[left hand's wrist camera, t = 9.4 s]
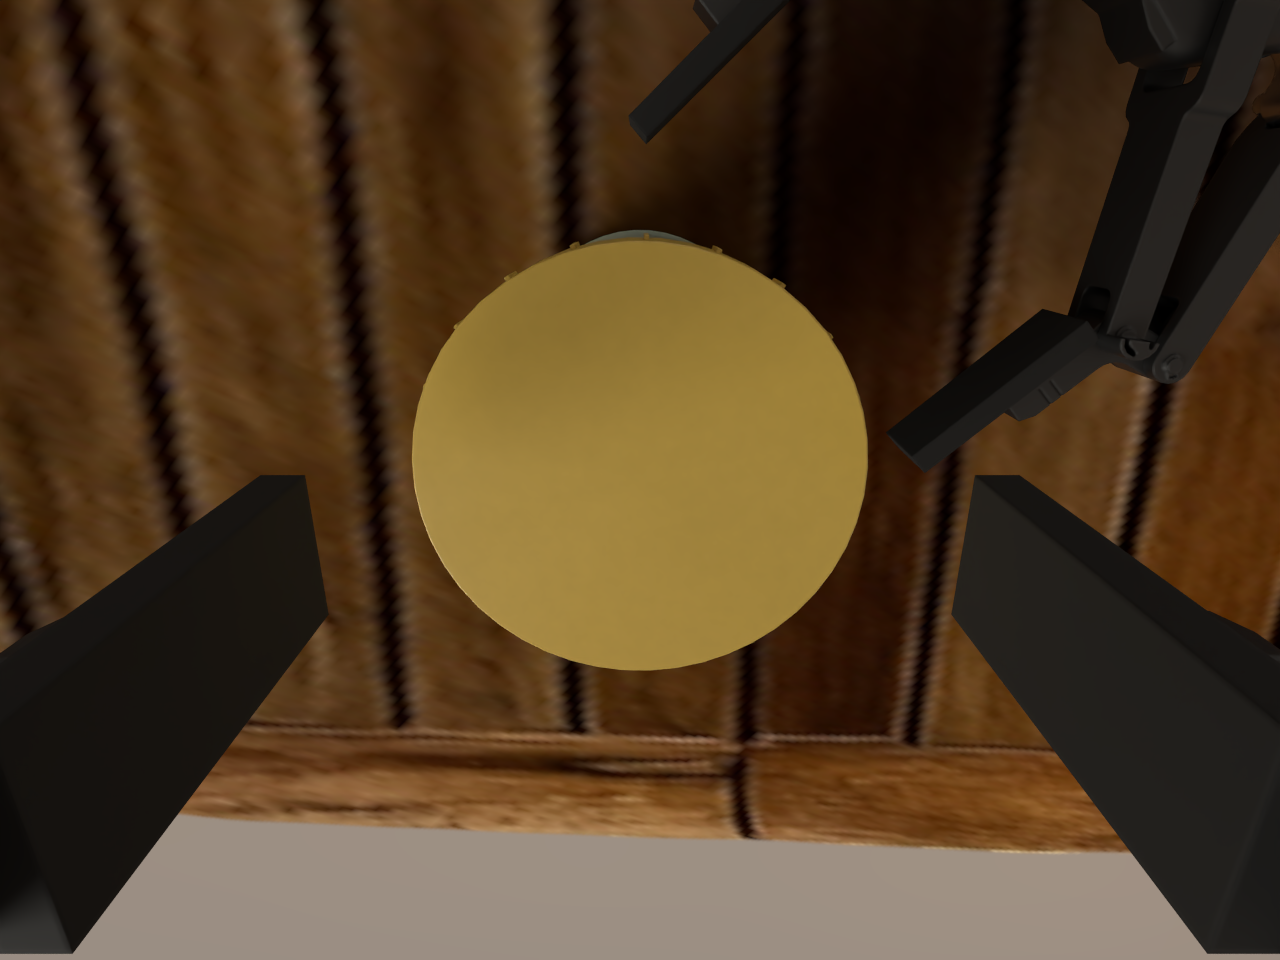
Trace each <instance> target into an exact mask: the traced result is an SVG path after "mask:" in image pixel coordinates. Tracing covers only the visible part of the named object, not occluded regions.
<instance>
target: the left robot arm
mask: <svg viewBox="0 0 1280 960" xmlns="http://www.w3.org/2000/svg"><path fill="white" fill-rule="evenodd" d="M327 616H328V609H327V603H326V597H325V591H324V585H323V579H322V573H321V567H320V561H319V556H318V550H317V544H316V538H315V532H314V526H313V520H312V514H311V508H310V503H309V497H308V491H307V485H306V479H305V475H260V476H259V477H258V478H256V479H255V480H253V481H252V482H251V483H249V484H248V485H246V486H245V487H244V488H242V489H241V490H240V491H238V492H237V493H235V494H234V495H233V496H231V497H230V498H228V499H227V500H226V501H224V502H223V503H222V504H220V505H219V506H217V507H216V508H215V509H213V510H212V511H210V512H209V513H208V514H206V515H205V516H204V517H202V518H201V519H199V520H198V521H197V522H195V523H194V524H192V525H191V526H190V527H188V528H187V529H186V530H184V531H183V532H181V533H180V534H179V535H177V536H176V537H174V538H173V539H172V540H170V541H169V542H168V543H166V544H165V545H163V546H162V547H161V548H159V549H158V550H156V551H155V552H154V553H152V554H151V555H150V556H148V557H147V558H145V559H144V560H143V561H141V562H140V563H138V564H137V565H136V566H134V567H133V568H131V569H130V570H129V571H127V572H126V573H125V574H123V575H122V576H120V577H119V578H118V579H116V580H115V581H113V582H112V583H111V584H109V585H108V586H107V587H105V588H104V589H102V590H101V591H100V592H98V593H97V594H95V595H94V596H93V597H91V598H90V599H89V600H87V601H86V602H84V603H83V604H82V605H80V606H79V607H77V608H76V609H75V610H73V611H72V612H71V613H69V614H68V615H66V616H65V617H63V618H61V619H59V620H57V621H55V622H53V623H50V624H48V625H46V626H44V627H42V628H40V629H38V630H35V631H33V632H31V633H29V634H27V635H25V636H24V637H22V638H21V639H20V640H18V641H17V642H15V643H14V644H13V645H11V646H10V647H8V648H7V649H5V650H4V651H3V652H1V653H0V954H72V953H73V952H74V951H75V950H76V948H77V947H78V946H79V944H80V943H81V942H82V940H83V939H84V938H85V937H86V935H87V934H88V933H89V931H90V930H91V929H92V927H93V926H94V925H95V923H96V922H97V921H98V919H99V918H100V917H101V915H102V914H103V913H104V911H105V910H106V909H107V907H108V906H109V905H110V903H111V902H112V901H113V899H114V898H115V897H116V895H117V894H118V893H119V891H120V890H121V889H122V887H123V886H124V885H125V883H126V882H127V881H128V879H129V878H130V877H131V875H132V874H133V873H134V872H135V870H136V869H137V868H138V866H139V865H140V864H141V862H142V861H143V860H144V858H145V857H146V856H147V854H148V853H149V852H150V850H151V849H152V848H153V846H154V845H155V844H156V842H157V841H158V840H159V838H160V837H161V836H162V834H163V833H164V832H165V830H166V829H167V828H168V826H169V825H170V824H171V823H172V821H173V820H174V818H175V817H176V816H177V815H178V813H179V812H180V811H181V809H182V808H183V807H184V805H185V804H186V803H187V801H188V800H189V799H190V797H191V796H192V795H193V793H194V792H195V791H196V789H197V788H198V787H199V785H200V784H201V783H202V781H203V780H204V779H205V777H206V776H207V775H208V773H209V772H210V771H211V769H212V768H213V767H214V766H215V764H216V763H217V762H218V760H219V759H220V758H221V756H222V755H223V754H224V752H225V751H226V750H227V748H228V747H229V746H230V744H231V743H232V742H233V740H234V739H235V738H236V736H237V735H238V734H239V732H240V731H241V730H242V728H243V727H244V726H245V724H246V723H247V722H248V720H249V719H250V718H251V716H252V715H253V714H254V712H255V711H256V710H257V709H258V707H259V706H260V705H261V703H262V702H263V701H264V699H265V698H266V697H267V695H268V694H269V693H270V691H271V690H272V689H273V687H274V686H275V685H276V683H277V682H278V681H279V679H280V678H281V677H282V675H283V674H284V673H285V671H286V670H287V669H288V667H289V666H290V665H291V663H292V662H293V661H294V659H295V658H296V657H297V655H298V654H299V653H300V652H301V650H302V649H303V648H304V646H305V645H306V644H307V642H308V641H309V640H310V638H311V637H312V636H313V634H314V633H315V632H316V630H317V629H318V628H319V626H320V625H321V624H322V622H323V621H324V620H325V618H326V617H327ZM952 616H953V617H954V618H955V620H956V621H957V622H958V624H959V625H960V626H961V628H962V629H963V630H964V632H965V633H966V634H967V636H968V637H969V638H970V640H971V641H972V642H973V644H974V645H975V646H976V648H977V649H978V650H979V652H980V653H981V654H982V655H983V657H984V658H985V659H986V661H987V662H988V663H989V665H990V666H991V667H992V669H993V670H994V671H995V673H996V674H997V675H998V677H999V678H1000V679H1001V681H1002V682H1003V683H1004V685H1005V686H1006V687H1007V689H1008V690H1009V691H1010V693H1011V694H1012V695H1013V697H1014V698H1015V699H1016V701H1017V702H1018V703H1019V705H1020V706H1021V707H1022V709H1023V710H1024V711H1025V712H1026V714H1027V715H1028V716H1029V718H1030V719H1031V720H1032V722H1033V723H1034V724H1035V726H1036V727H1037V728H1038V730H1039V731H1040V732H1041V734H1042V735H1043V736H1044V738H1045V739H1046V740H1047V742H1048V743H1049V744H1050V746H1051V747H1052V748H1053V750H1054V751H1055V752H1056V754H1057V755H1058V756H1059V758H1060V759H1061V760H1062V762H1063V763H1064V764H1065V766H1066V767H1067V768H1068V769H1069V771H1070V772H1071V773H1072V775H1073V776H1074V777H1075V779H1076V780H1077V781H1078V783H1079V784H1080V785H1081V787H1082V788H1083V789H1084V791H1085V792H1086V793H1087V795H1088V796H1089V797H1090V799H1091V800H1092V801H1093V803H1094V804H1095V805H1096V807H1097V808H1098V809H1099V811H1100V812H1101V813H1102V815H1103V816H1104V817H1105V819H1106V820H1107V821H1108V823H1109V824H1110V825H1111V826H1112V828H1113V829H1114V830H1115V832H1116V833H1117V834H1118V836H1119V837H1120V838H1121V840H1122V841H1123V842H1124V844H1125V845H1126V846H1127V848H1128V849H1129V850H1130V852H1131V853H1132V854H1133V856H1134V857H1135V858H1136V860H1137V861H1138V862H1139V864H1140V865H1141V866H1142V868H1143V869H1144V870H1145V872H1146V873H1147V874H1148V875H1149V877H1150V878H1151V880H1152V881H1153V882H1154V883H1155V885H1156V886H1157V887H1158V889H1159V890H1160V891H1161V893H1162V894H1163V895H1164V897H1165V898H1166V899H1167V901H1168V902H1169V903H1170V905H1171V906H1172V907H1173V909H1174V910H1175V911H1176V913H1177V914H1178V915H1179V917H1180V918H1181V919H1182V921H1183V922H1184V923H1185V925H1186V926H1187V927H1188V929H1189V930H1190V931H1191V933H1192V934H1193V935H1194V937H1195V938H1196V939H1197V940H1198V942H1199V943H1200V944H1201V946H1202V947H1203V948H1204V950H1205V951H1206V952H1207V954H1280V649H1278V648H1277V647H1275V646H1274V645H1273V644H1271V643H1270V642H1268V641H1267V640H1265V639H1264V638H1263V637H1261V636H1260V635H1258V634H1257V633H1255V632H1254V631H1251V630H1249V629H1247V628H1245V627H1243V626H1241V625H1238V624H1236V623H1234V622H1232V621H1230V620H1228V619H1226V618H1223V617H1221V616H1219V615H1217V614H1215V613H1213V612H1210V611H1207V610H1205V609H1204V608H1203V607H1201V606H1200V605H1198V604H1197V603H1196V602H1194V601H1193V600H1191V599H1190V598H1189V597H1187V596H1186V595H1185V594H1183V593H1182V592H1180V591H1179V590H1178V589H1176V588H1175V587H1173V586H1172V585H1171V584H1169V583H1168V582H1167V581H1165V580H1164V579H1162V578H1161V577H1160V576H1158V575H1157V574H1155V573H1154V572H1153V571H1151V570H1150V569H1149V568H1147V567H1146V566H1144V565H1143V564H1142V563H1140V562H1139V561H1137V560H1136V559H1135V558H1133V557H1132V556H1130V555H1129V554H1128V553H1126V552H1125V551H1124V550H1122V549H1121V548H1119V547H1118V546H1117V545H1115V544H1114V543H1112V542H1111V541H1110V540H1108V539H1107V538H1106V537H1104V536H1103V535H1101V534H1100V533H1099V532H1097V531H1096V530H1094V529H1093V528H1092V527H1090V526H1089V525H1088V524H1086V523H1085V522H1083V521H1082V520H1081V519H1079V518H1078V517H1076V516H1075V515H1074V514H1072V513H1071V512H1070V511H1068V510H1067V509H1065V508H1064V507H1063V506H1061V505H1060V504H1058V503H1057V502H1056V501H1054V500H1053V499H1052V498H1050V497H1049V496H1047V495H1046V494H1045V493H1043V492H1042V491H1040V490H1039V489H1038V488H1036V487H1035V486H1034V485H1032V484H1031V483H1029V482H1028V481H1027V480H1025V479H1024V478H1022V477H1021V476H1020V475H975V479H974V485H973V491H972V497H971V503H970V508H969V514H968V520H967V526H966V532H965V538H964V544H963V550H962V556H961V561H960V567H959V573H958V579H957V585H956V591H955V597H954V603H953V609H952Z"/></svg>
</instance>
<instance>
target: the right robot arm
mask: <svg viewBox="0 0 1280 960" xmlns="http://www.w3.org/2000/svg"><path fill="white" fill-rule="evenodd" d="M789 1H790V0H695V3H694V7H693V10H694V11H695V12H696V14H697V15H698V16H699V18H700V19H701V20H702V22H703V23H704V24H705V25H706V27H707V28H708V29H709V31H710V33H709V34H708V35H707V36H706V37H705V38H704V39H703V40H702V41H701V42H700V43H699V45H698V46H697V47H696V48H695V49H694V50H693V51H692V52H691V53H690V54H689V55H688V56H687V57H686V58H685V59H684V60H683V61H682V62H681V63H680V64H679V65H678V66H677V67H676V68H675V69H674V70H673V71H672V72H671V73H670V74H669V75H668V76H667V77H666V78H665V79H664V80H663V81H662V82H661V83H660V84H659V85H658V86H657V87H656V88H655V89H654V90H653V91H652V92H651V93H650V94H649V95H648V96H647V97H646V99H645V100H644V101H643V102H642V103H641V104H640V105H639V106H638V107H637V108H636V109H635V110H634V111H633V112H632V113H631V114H630V115H629V121H630V125H631V127H632V128H633V129H634V130H635V131H636V133H637V134H638V135H639V136H640V137H641V139H642V140H643V141H644V142H645V143H646V144H647V143H648V142H649V141H650V140H651V139H652V138H653V137H654V136H655V135H656V134H657V133H658V132H659V131H660V130H661V129H662V128H663V127H664V126H665V125H666V124H667V123H668V122H669V121H670V120H671V119H672V118H673V117H674V116H675V115H676V114H677V113H678V112H679V111H680V110H681V109H682V108H683V107H684V106H685V105H686V104H687V103H688V102H689V101H690V100H691V99H692V98H693V97H694V96H695V95H696V94H697V93H698V92H699V91H700V90H701V89H702V88H703V87H704V86H705V85H706V84H707V83H708V82H709V81H710V80H711V79H712V78H713V77H714V76H715V75H716V74H717V73H718V72H719V71H720V70H721V69H722V68H723V67H724V66H725V65H726V64H727V63H728V62H729V61H730V60H731V59H732V58H733V57H734V56H735V55H736V54H737V53H738V52H739V51H740V50H741V49H742V48H743V47H744V46H745V45H746V44H747V43H748V42H749V41H750V40H751V39H752V38H753V37H754V36H755V35H756V34H757V33H758V32H759V31H760V30H761V29H762V28H763V27H764V26H765V25H766V24H767V23H768V22H769V21H770V20H771V19H772V18H773V17H774V16H775V15H776V14H777V13H778V12H779V11H780V10H781V9H782V8H783V7H784V6H785V5H786V4H787V3H788V2H789ZM1083 1H1084V2H1085V3H1086V4H1087V5H1088V6H1090V7H1091V8H1092V9H1093V10H1094V11H1095V12H1096V13H1098V15H1099V17H1100V21H1101V24H1102V28H1103V32H1104V36H1105V40H1106V43H1107V45H1108V46H1109V48H1110V50H1111V51H1112V53H1113V55H1114V56H1115V58H1116V60H1117V61H1118V63H1119V64H1121V63H1124V62H1128V61H1129V62H1130V63H1132V64H1133V65H1135V66H1137V67H1139V70H1138V73H1137V76H1136V79H1135V82H1134V85H1133V88H1132V92H1131V95H1130V98H1129V101H1128V104H1127V108H1126V118H1127V120H1128V121H1129V129H1128V133H1127V136H1126V139H1125V142H1124V145H1123V148H1122V151H1121V154H1120V157H1119V160H1118V163H1117V166H1116V169H1115V172H1114V175H1113V178H1112V181H1111V184H1110V187H1109V191H1108V194H1107V197H1106V200H1105V203H1104V206H1103V209H1102V212H1101V215H1100V218H1099V221H1098V224H1097V227H1096V230H1095V233H1094V236H1093V239H1092V242H1091V246H1090V249H1089V252H1088V255H1087V258H1086V261H1085V264H1084V267H1083V270H1082V273H1081V276H1080V279H1079V282H1078V285H1077V288H1076V291H1075V294H1074V297H1073V300H1072V304H1071V307H1070V310H1069V313H1068V316H1067V315H1063V314H1060V313H1056V312H1052V311H1048V310H1045V309H1042V310H1040V311H1039V312H1038V313H1037V314H1035V315H1034V316H1033V317H1032V318H1030V319H1029V320H1028V321H1027V322H1025V323H1024V324H1023V325H1022V326H1020V327H1019V328H1018V329H1016V330H1015V331H1014V332H1013V333H1011V334H1010V335H1009V336H1008V337H1006V338H1005V339H1004V340H1003V341H1001V342H1000V343H999V344H997V345H996V346H995V347H994V348H992V349H991V350H990V351H989V352H987V353H986V354H985V355H984V356H982V357H981V358H980V359H979V360H977V361H976V362H975V363H973V364H972V365H971V366H970V367H968V368H967V369H966V370H965V371H963V372H962V373H961V374H960V375H958V376H957V377H956V378H954V379H953V380H952V381H951V382H949V383H948V384H947V385H946V386H944V387H943V388H942V389H941V390H939V391H938V392H937V393H936V394H934V395H933V396H932V397H930V398H929V399H928V400H927V401H925V402H924V403H923V404H922V405H920V406H919V407H918V408H917V409H915V410H914V411H913V412H911V413H910V414H909V415H908V416H906V417H905V418H904V419H903V420H901V421H900V422H899V423H898V424H896V425H895V426H894V427H893V428H891V429H890V430H889V431H887V432H886V433H887V434H888V436H889V437H890V438H891V439H892V440H893V442H894V443H895V444H896V445H897V446H898V448H899V449H900V450H902V451H903V452H904V453H905V454H906V455H907V456H908V457H909V458H910V459H911V460H912V461H913V462H914V463H915V464H916V465H917V466H918V467H919V468H920V469H921V470H922V471H923V472H927V471H928V470H929V469H931V468H932V467H933V466H935V465H936V464H937V463H938V462H940V461H941V460H942V459H944V458H945V457H946V456H948V455H949V454H950V453H952V452H953V451H954V450H955V449H957V448H958V447H959V446H961V445H962V444H963V443H965V442H966V441H967V440H969V439H970V438H971V437H973V436H974V435H975V434H976V433H978V432H979V431H980V430H982V429H983V428H984V427H986V426H987V425H988V424H990V423H991V422H992V421H993V420H995V419H996V418H997V417H999V416H1000V415H1001V414H1003V413H1006V414H1008V415H1009V416H1011V417H1013V418H1015V419H1016V420H1018V421H1021V420H1024V419H1027V418H1030V417H1033V416H1036V415H1037V414H1038V413H1040V412H1041V411H1042V410H1044V409H1045V408H1046V407H1048V406H1049V404H1050V403H1053V402H1054V401H1056V400H1057V399H1058V398H1060V396H1061V395H1064V394H1065V393H1066V392H1068V391H1069V390H1070V389H1072V388H1073V387H1074V386H1076V385H1077V384H1078V383H1079V382H1081V381H1082V380H1083V379H1085V378H1086V377H1087V376H1089V375H1090V374H1091V373H1093V372H1094V371H1095V370H1097V369H1098V368H1100V367H1101V366H1103V365H1105V364H1108V363H1112V364H1113V365H1114V366H1116V367H1118V368H1121V369H1124V370H1127V371H1130V372H1133V373H1136V374H1138V375H1141V376H1144V377H1147V378H1150V379H1153V380H1156V381H1158V382H1161V383H1167V384H1169V383H1174V382H1177V381H1179V380H1180V379H1182V378H1183V377H1184V376H1185V375H1186V374H1187V373H1188V372H1189V370H1190V369H1191V367H1192V366H1193V364H1194V363H1195V361H1196V360H1197V358H1198V357H1199V355H1200V354H1201V352H1202V351H1203V349H1204V348H1205V346H1206V344H1207V343H1208V341H1209V340H1210V338H1211V337H1212V335H1213V334H1214V332H1215V331H1216V329H1217V328H1218V326H1219V325H1220V323H1221V322H1222V320H1223V319H1224V317H1225V315H1226V314H1227V312H1228V311H1229V309H1230V308H1231V306H1232V305H1233V303H1234V302H1235V300H1236V299H1237V297H1238V296H1239V294H1240V293H1241V291H1242V290H1243V288H1244V286H1245V285H1246V283H1247V282H1248V280H1249V279H1250V277H1251V276H1252V274H1253V273H1254V271H1255V270H1256V268H1257V267H1258V265H1259V264H1260V262H1261V261H1262V259H1263V257H1264V256H1265V254H1266V253H1267V251H1268V250H1269V248H1270V247H1271V245H1272V244H1273V242H1274V241H1275V239H1276V238H1277V236H1278V235H1279V233H1280V0H1083ZM1269 55H1271V57H1272V58H1273V60H1274V62H1275V75H1274V78H1273V80H1272V83H1271V84H1270V86H1269V87H1268V89H1267V90H1266V91H1265V93H1263V94H1261V95H1259V96H1258V97H1257V98H1256V99H1255V100H1254V102H1253V105H1252V109H1253V112H1254V113H1255V114H1257V115H1258V116H1257V117H1256V118H1255V119H1254V120H1253V121H1252V122H1251V123H1250V124H1249V125H1248V126H1247V128H1246V129H1245V130H1244V131H1243V133H1242V134H1241V135H1240V136H1239V137H1238V139H1237V140H1236V141H1235V143H1234V144H1233V146H1232V147H1231V149H1230V150H1229V152H1228V153H1227V155H1226V156H1225V158H1224V159H1223V161H1222V163H1221V164H1220V166H1219V168H1218V169H1217V171H1216V173H1215V174H1214V176H1213V177H1212V179H1211V181H1210V182H1209V184H1208V186H1207V187H1206V189H1205V191H1204V192H1203V194H1202V196H1201V197H1200V199H1199V200H1198V202H1197V204H1196V205H1195V207H1194V209H1193V210H1192V208H1193V205H1194V203H1195V200H1196V197H1197V195H1198V192H1199V189H1200V186H1201V184H1202V181H1203V178H1204V175H1205V173H1206V170H1207V167H1208V165H1209V162H1210V159H1211V156H1212V154H1213V151H1214V148H1215V146H1216V143H1217V140H1218V137H1219V135H1220V132H1221V129H1222V127H1223V125H1224V123H1225V122H1226V121H1227V119H1228V118H1230V117H1231V116H1232V115H1233V114H1234V113H1236V112H1237V111H1238V109H1239V108H1240V107H1241V106H1242V104H1243V102H1244V100H1245V98H1246V96H1247V94H1248V91H1249V88H1250V86H1251V83H1252V80H1253V78H1254V75H1255V72H1256V69H1257V67H1258V64H1259V61H1260V59H1261V58H1264V57H1267V56H1269ZM1196 66H1201V67H1200V69H1199V71H1198V73H1197V75H1196V77H1195V78H1194V79H1193V80H1192V81H1191V82H1189V83H1187V84H1183V82H1184V79H1185V76H1186V74H1187V71H1188V68H1189V67H1196ZM1191 211H1192V212H1191Z"/></svg>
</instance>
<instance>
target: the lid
mask: <svg viewBox="0 0 1280 960" xmlns="http://www.w3.org/2000/svg"><path fill="white" fill-rule="evenodd" d="M504 279H505V280H506V282H504V283H503V284H502V285H501V286H499V287H498V288H497V289H496V290H494V291H493V292H492V293H491V294H489V295H488V296H487V297H486V298H484V299H483V300H482V301H481V302H480V303H479V304H478V305H477V306H476V307H475V308H474V309H473V310H472V311H471V312H470V313H469V314H468V315H467V316H466V317H465V319H463V320H462V321H460V322H459V323H457V324H456V325H455V326H454V329H455V331H454V332H453V334H452V335H451V336H450V338H449V339H448V341H447V342H446V344H445V345H444V346H443V348H442V349H441V351H440V353H439V355H438V357H437V359H436V361H435V363H434V365H433V367H432V369H431V371H430V373H429V375H428V377H427V380H426V383H425V384H424V386H423V392H422V395H421V398H420V401H419V404H418V409H417V414H416V420H415V425H414V431H413V448H412V466H413V477H414V487H415V492H416V496H417V501H418V505H419V509H420V513H421V517H422V519H423V522H424V525H425V527H426V530H427V532H428V535H429V537H430V540H431V542H432V544H433V546H434V548H435V550H436V552H437V553H438V555H439V557H440V559H441V561H442V563H443V564H444V566H445V567H446V569H447V570H448V572H449V573H450V574H451V576H452V577H453V579H454V580H455V581H456V583H457V584H458V585H459V587H460V588H461V589H462V590H463V591H464V592H465V593H466V594H467V596H468V597H469V598H470V599H471V600H472V601H473V602H474V603H475V604H476V605H477V606H478V607H479V608H480V609H481V610H482V611H484V612H485V613H486V614H487V615H488V616H490V617H491V618H492V619H493V620H494V621H495V622H497V623H498V624H499V625H501V626H502V627H504V628H505V629H507V630H508V631H510V632H511V633H513V634H514V635H516V636H517V637H519V638H520V639H522V640H524V641H526V642H528V643H530V644H532V645H534V646H536V647H538V648H540V649H542V650H544V651H546V652H549V653H552V654H555V655H557V656H560V657H563V658H566V659H568V660H572V661H576V662H580V663H584V664H588V665H592V666H596V667H604V668H612V669H620V670H658V669H668V668H678V667H682V666H687V665H692V664H696V663H701V662H705V661H708V660H711V659H714V658H717V657H720V656H723V655H726V654H729V653H731V652H733V651H735V650H737V649H740V648H742V647H744V646H746V645H748V644H750V643H753V642H754V641H756V640H757V639H759V638H761V637H762V636H764V635H766V634H767V633H769V632H770V631H772V630H774V629H775V628H777V627H778V626H779V625H780V624H782V623H783V622H784V621H786V620H787V619H788V618H789V617H791V616H792V615H793V614H794V613H796V612H797V611H798V610H799V609H800V608H801V607H802V606H803V605H804V604H805V603H806V602H807V601H808V600H809V599H810V598H811V597H812V596H813V595H814V594H815V593H816V592H817V590H818V589H819V588H820V586H821V585H822V584H823V582H824V581H825V580H826V579H827V577H828V576H829V575H830V573H831V572H832V571H833V569H834V567H835V566H836V564H837V562H838V560H839V559H840V557H841V555H842V554H843V552H844V550H845V549H846V547H847V544H848V542H849V539H850V537H851V535H852V532H853V530H854V528H855V525H856V523H857V520H858V516H859V512H860V509H861V505H862V501H863V498H864V493H865V485H866V477H867V470H868V439H867V433H866V426H865V419H864V412H863V408H862V405H861V402H860V396H859V395H858V392H857V388H856V385H855V382H854V380H853V378H852V376H851V373H850V371H849V369H848V367H847V365H846V363H845V360H844V358H843V356H842V355H841V353H840V352H839V350H838V348H837V347H836V345H835V344H834V342H833V341H832V338H833V336H832V335H831V334H830V333H829V332H827V331H826V330H825V329H824V328H823V327H822V326H821V324H820V323H819V322H818V321H817V320H816V319H815V318H814V316H813V315H812V314H811V313H810V312H809V311H808V310H807V308H806V307H805V306H803V305H802V304H801V303H800V302H799V301H798V300H797V299H795V298H794V297H793V296H792V295H791V294H790V293H788V292H787V291H786V290H785V289H784V288H785V286H786V285H785V284H784V283H782V282H780V281H779V280H777V279H775V278H773V279H772V280H770V279H769V278H767V277H766V276H764V275H763V274H761V273H760V272H758V271H756V270H755V269H753V268H752V267H750V266H748V265H746V264H745V263H743V262H740V261H738V260H736V259H734V258H732V257H729V256H727V255H725V254H723V253H722V249H720V248H718V247H717V246H714V245H713V247H712V249H709V248H706V247H702V246H699V245H696V244H692V243H689V242H683V241H676V240H670V239H664V238H649V233H644V238H642V237H627V238H618V239H610V240H602V241H596V242H592V243H589V244H585V245H581V246H580V244H579V242H575V243H573V244H572V245H570V249H567V250H565V251H562V252H560V253H558V254H555V255H553V256H550V257H548V258H546V259H543V260H541V261H539V262H538V263H536V264H534V265H533V266H531V267H529V268H528V269H526V270H524V271H523V272H521V273H519V274H518V273H517V272H516V271H515V272H513V273H511V274H509V275H508V276H506V277H505V278H504Z"/></svg>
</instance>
